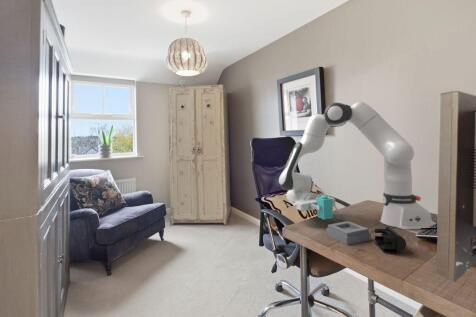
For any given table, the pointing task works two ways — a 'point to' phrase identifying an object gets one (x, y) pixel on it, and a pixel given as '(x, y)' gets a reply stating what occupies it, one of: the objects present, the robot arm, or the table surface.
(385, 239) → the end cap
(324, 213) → the teal brick
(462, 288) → the table surface
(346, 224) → the base plate
